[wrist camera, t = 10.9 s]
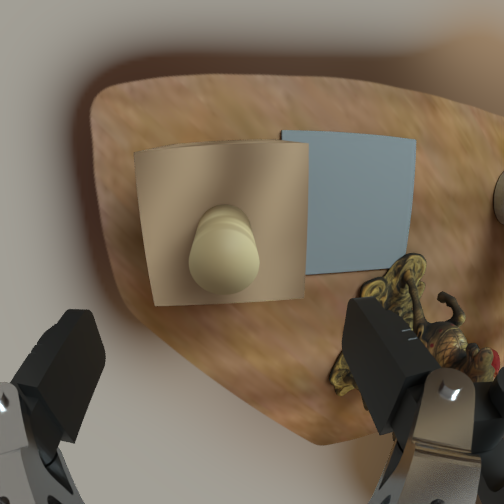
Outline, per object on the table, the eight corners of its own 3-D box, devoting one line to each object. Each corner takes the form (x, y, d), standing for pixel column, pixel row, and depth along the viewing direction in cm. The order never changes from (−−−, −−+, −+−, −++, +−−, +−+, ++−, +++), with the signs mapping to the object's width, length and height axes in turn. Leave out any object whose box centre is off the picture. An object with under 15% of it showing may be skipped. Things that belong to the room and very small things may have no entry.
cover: (273, 139, 29) (338, 147, 12) (274, 234, 33) (323, 343, 16) (172, 144, 29) (101, 160, 12) (180, 239, 33) (138, 352, 15)
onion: (491, 339, 45) (512, 361, 38) (478, 361, 47) (498, 384, 40) (474, 341, 44) (497, 366, 37) (462, 365, 46) (482, 390, 39)
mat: (414, 139, 30) (416, 139, 30) (401, 265, 36) (403, 266, 36) (281, 130, 29) (282, 130, 29) (281, 274, 35) (281, 276, 35)
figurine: (447, 265, 37) (545, 348, 18) (367, 393, 45) (413, 489, 27) (384, 239, 34) (502, 341, 15) (301, 389, 42) (338, 506, 24)
